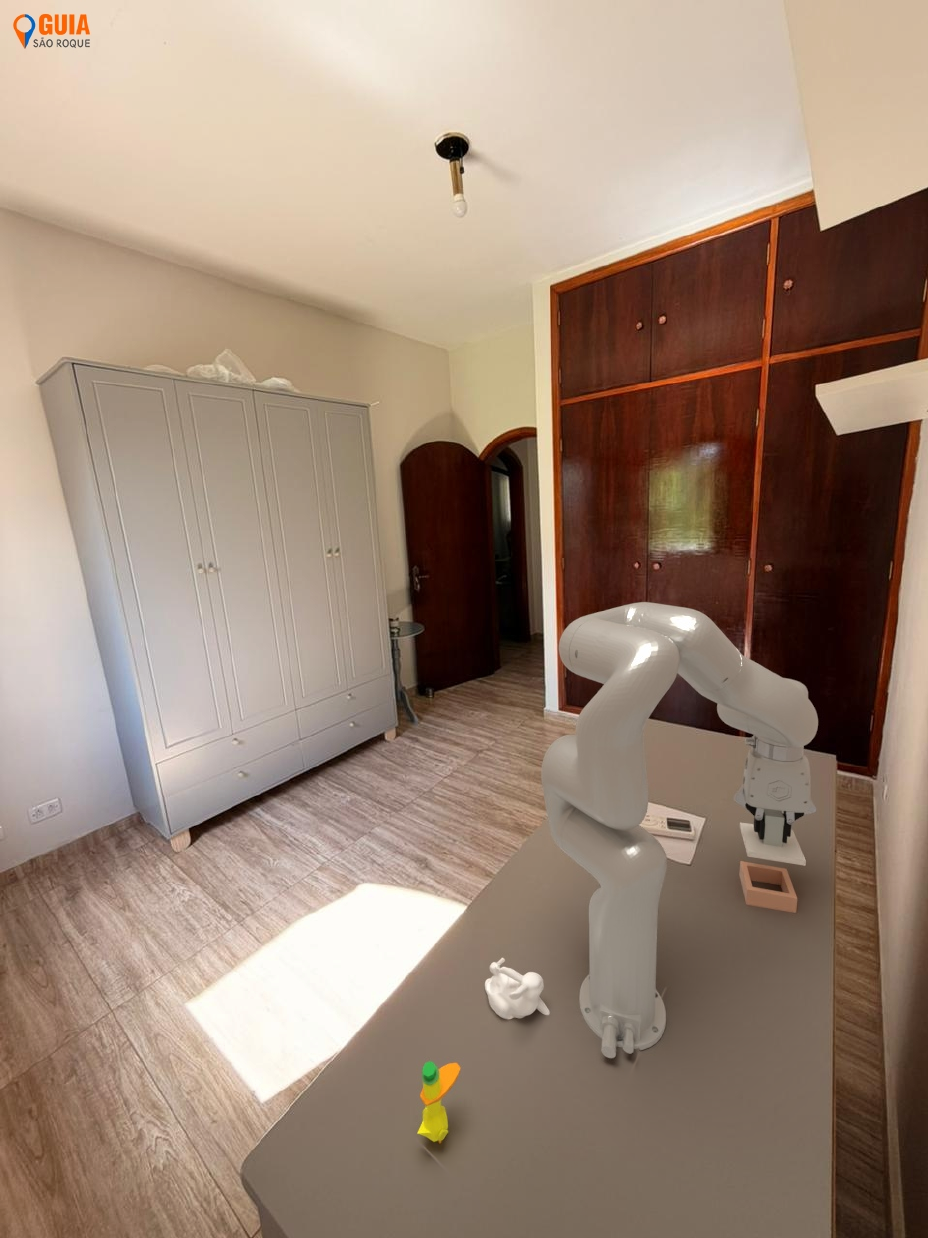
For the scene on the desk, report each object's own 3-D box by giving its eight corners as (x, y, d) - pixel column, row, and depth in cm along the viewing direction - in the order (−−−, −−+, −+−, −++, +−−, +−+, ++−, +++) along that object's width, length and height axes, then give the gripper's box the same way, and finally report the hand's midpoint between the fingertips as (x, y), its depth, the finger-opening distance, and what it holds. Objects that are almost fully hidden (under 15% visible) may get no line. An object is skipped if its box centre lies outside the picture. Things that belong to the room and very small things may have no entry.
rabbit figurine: (561, 1018, 76) (560, 966, 74) (536, 1062, 70) (534, 1006, 68) (496, 978, 83) (493, 929, 81) (469, 1014, 78) (465, 963, 76)
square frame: (795, 919, 91) (797, 898, 90) (745, 910, 94) (747, 889, 93) (784, 888, 98) (786, 868, 97) (738, 880, 101) (740, 861, 100)
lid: (805, 865, 88) (808, 830, 87) (747, 856, 91) (749, 822, 90) (792, 834, 96) (795, 801, 95) (739, 826, 99) (741, 795, 98)
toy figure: (454, 1104, 66) (448, 1032, 63) (471, 1129, 63) (466, 1054, 61) (411, 1147, 62) (403, 1071, 59) (428, 1175, 59) (421, 1097, 56)
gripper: (729, 751, 89) (725, 842, 93) (840, 762, 83) (829, 858, 87) (724, 733, 96) (720, 818, 100) (825, 742, 90) (816, 831, 94)
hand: (771, 836), depth 93 cm, fingers closed on lid, 3 cm apart
